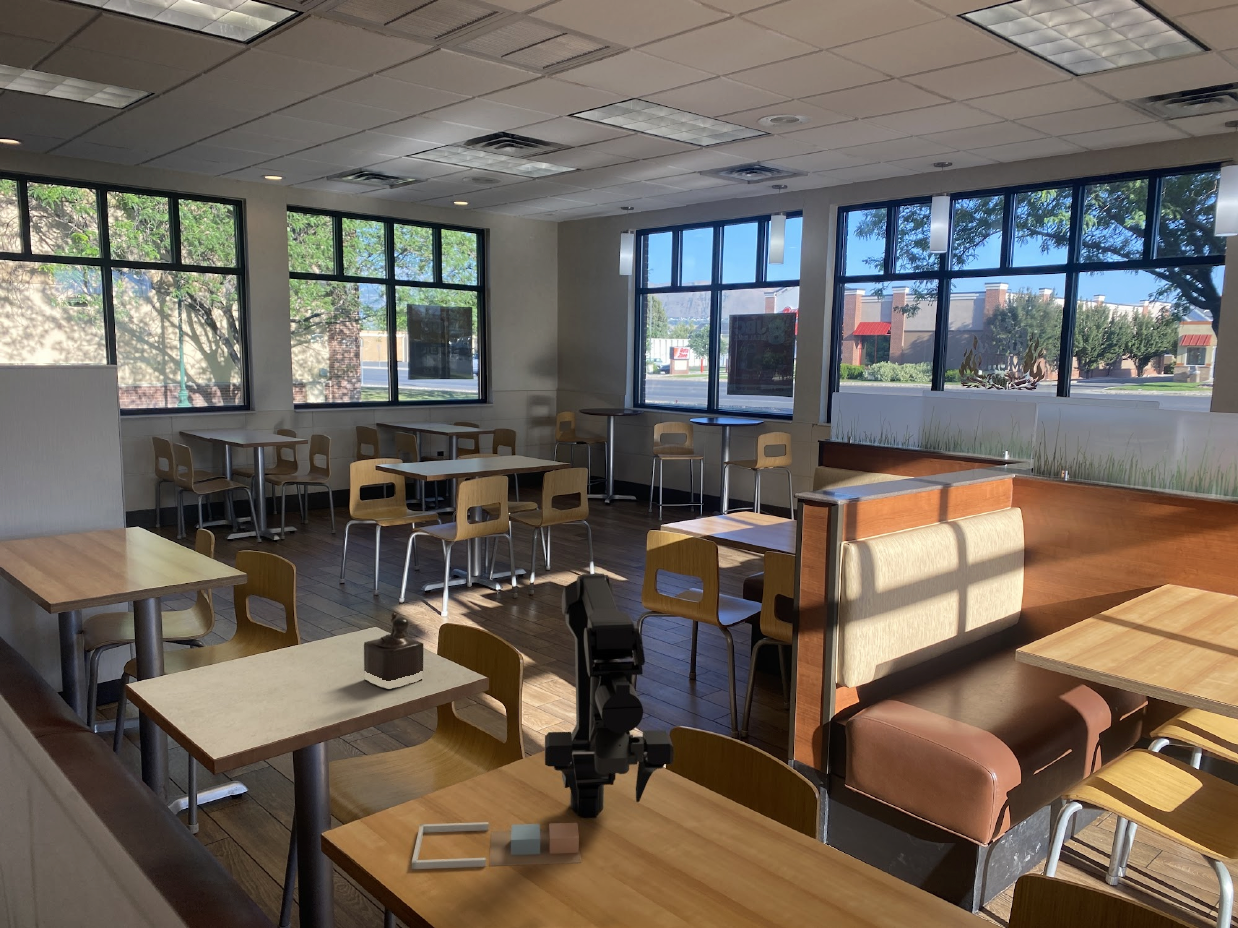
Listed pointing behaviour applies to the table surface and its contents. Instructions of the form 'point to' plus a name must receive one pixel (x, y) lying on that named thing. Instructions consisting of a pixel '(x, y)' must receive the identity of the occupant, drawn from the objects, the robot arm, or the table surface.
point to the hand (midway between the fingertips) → (606, 801)
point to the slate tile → (525, 839)
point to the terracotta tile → (563, 838)
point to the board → (503, 857)
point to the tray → (447, 862)
